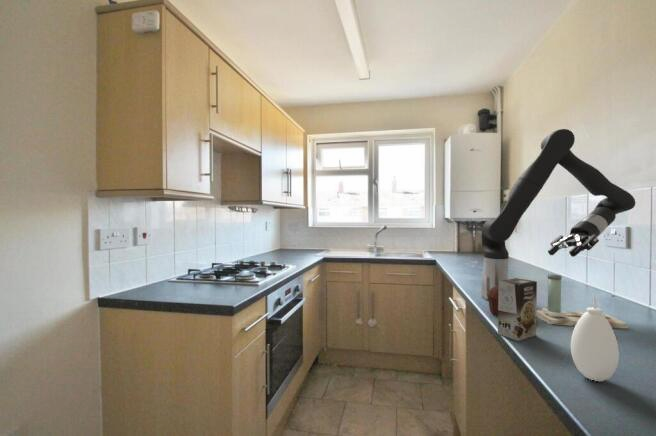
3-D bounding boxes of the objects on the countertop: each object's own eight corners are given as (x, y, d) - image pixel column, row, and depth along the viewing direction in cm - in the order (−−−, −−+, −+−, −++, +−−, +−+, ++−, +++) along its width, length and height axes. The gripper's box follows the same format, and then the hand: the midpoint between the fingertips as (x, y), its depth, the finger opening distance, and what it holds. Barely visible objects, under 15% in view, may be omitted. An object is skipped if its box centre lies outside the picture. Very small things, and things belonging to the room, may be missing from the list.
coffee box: (518, 342, 86) (519, 284, 85) (496, 333, 91) (497, 280, 91) (537, 335, 90) (538, 281, 90) (515, 328, 95) (515, 277, 95)
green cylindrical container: (550, 316, 101) (550, 276, 101) (541, 310, 106) (541, 273, 106) (567, 317, 100) (567, 277, 100) (557, 311, 106) (557, 274, 105)
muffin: (531, 319, 104) (532, 290, 104) (502, 321, 102) (502, 291, 102) (506, 308, 116) (506, 282, 115) (479, 309, 114) (479, 283, 114)
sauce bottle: (573, 366, 72) (574, 290, 72) (619, 379, 66) (621, 296, 66) (567, 378, 66) (568, 296, 66) (616, 394, 61) (618, 304, 60)
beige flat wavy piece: (549, 324, 99) (549, 319, 99) (533, 314, 109) (533, 309, 109) (627, 328, 95) (627, 323, 95) (603, 317, 105) (603, 313, 105)
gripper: (565, 221, 121) (538, 245, 118) (603, 219, 107) (573, 246, 104) (575, 237, 122) (548, 261, 119) (615, 236, 108) (585, 263, 105)
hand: (560, 254), depth 112 cm, fingers open, 8 cm apart
